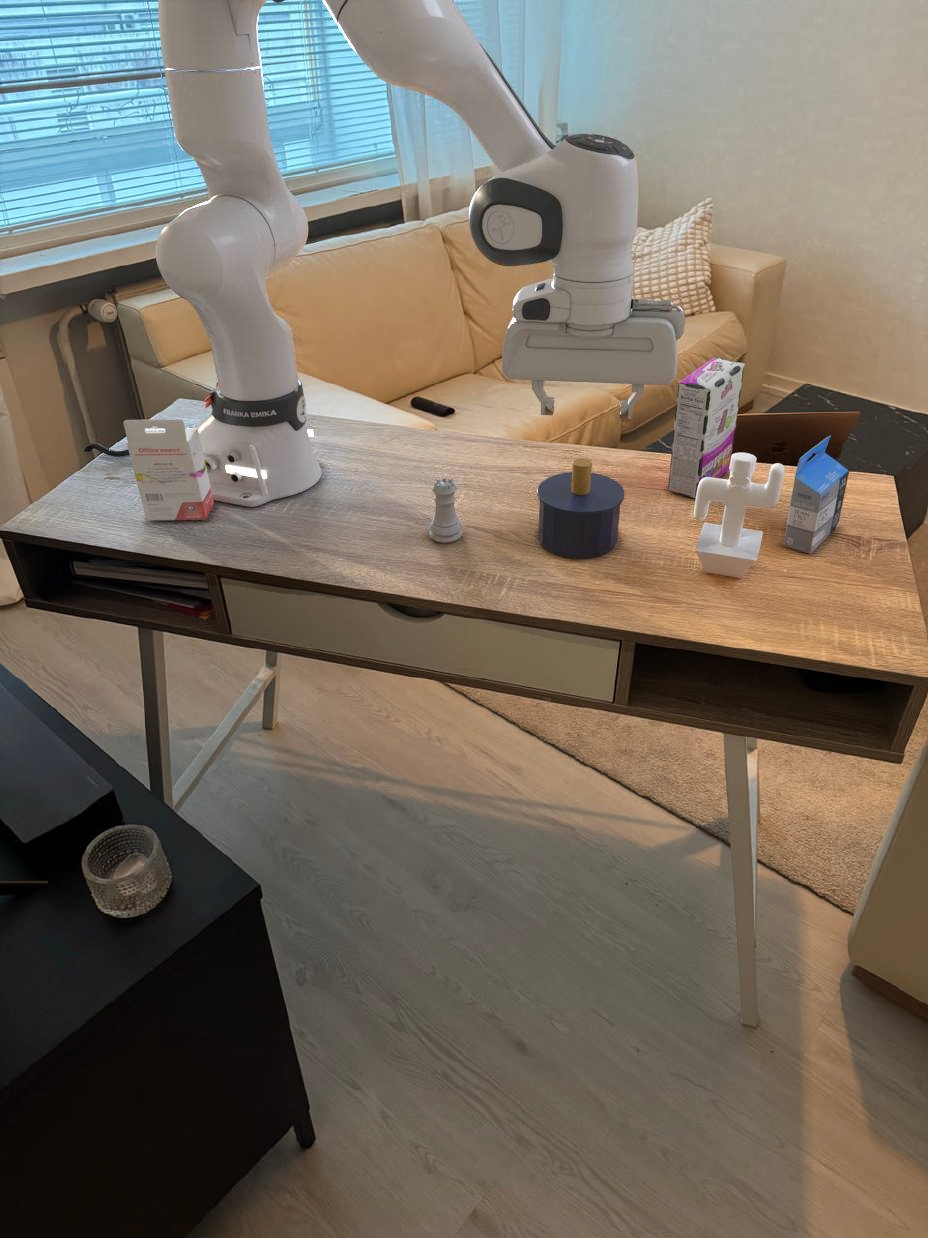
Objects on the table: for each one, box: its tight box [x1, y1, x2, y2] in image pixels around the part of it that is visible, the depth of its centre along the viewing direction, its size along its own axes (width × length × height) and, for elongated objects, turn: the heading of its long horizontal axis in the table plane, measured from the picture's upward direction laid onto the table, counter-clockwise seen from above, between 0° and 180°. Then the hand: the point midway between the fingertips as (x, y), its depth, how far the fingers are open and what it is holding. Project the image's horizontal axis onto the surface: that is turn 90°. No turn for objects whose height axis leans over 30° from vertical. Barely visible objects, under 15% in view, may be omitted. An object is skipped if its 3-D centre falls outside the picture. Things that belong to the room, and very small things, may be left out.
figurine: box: [693, 452, 786, 579], centre depth 110 cm, size 7×9×15 cm
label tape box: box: [783, 435, 850, 555], centre depth 116 cm, size 9×4×12 cm, turn 139°
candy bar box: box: [667, 357, 746, 500], centre depth 128 cm, size 11×5×16 cm, turn 143°
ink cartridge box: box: [123, 418, 215, 521], centre depth 124 cm, size 9×5×15 cm, turn 88°
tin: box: [538, 501, 621, 560], centre depth 119 cm, size 10×10×6 cm
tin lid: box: [536, 457, 625, 515], centre depth 116 cm, size 11×11×5 cm
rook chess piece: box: [429, 477, 464, 544], centre depth 120 cm, size 4×4×8 cm
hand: (586, 415), depth 111 cm, fingers open, 8 cm apart
